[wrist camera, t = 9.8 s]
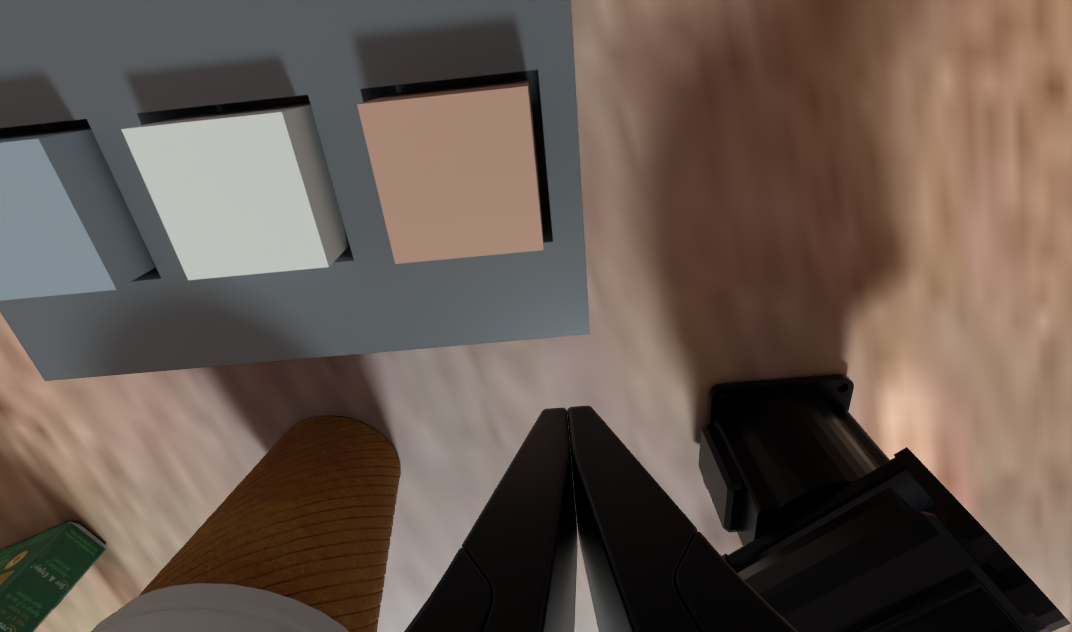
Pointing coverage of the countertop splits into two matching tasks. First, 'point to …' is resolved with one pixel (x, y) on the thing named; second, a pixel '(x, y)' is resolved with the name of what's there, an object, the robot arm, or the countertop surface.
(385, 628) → the countertop surface
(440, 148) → the rust key
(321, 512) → the disposable coffee cup
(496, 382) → the countertop surface
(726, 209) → the countertop surface
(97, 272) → the slate key
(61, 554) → the coffee box
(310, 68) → the key panel
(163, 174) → the pale key
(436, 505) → the countertop surface
